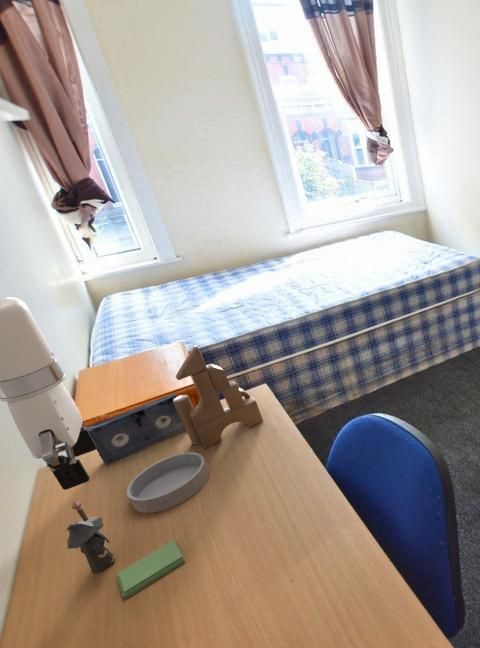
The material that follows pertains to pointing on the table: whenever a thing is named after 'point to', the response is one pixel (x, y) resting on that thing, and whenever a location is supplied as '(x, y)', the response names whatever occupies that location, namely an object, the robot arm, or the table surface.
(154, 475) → the metal pan
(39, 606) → the table surface
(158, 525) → the table surface
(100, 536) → the wizard figurine
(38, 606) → the table surface
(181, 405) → the wooden toy
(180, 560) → the green rectangular block
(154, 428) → the vhs cassette tape
